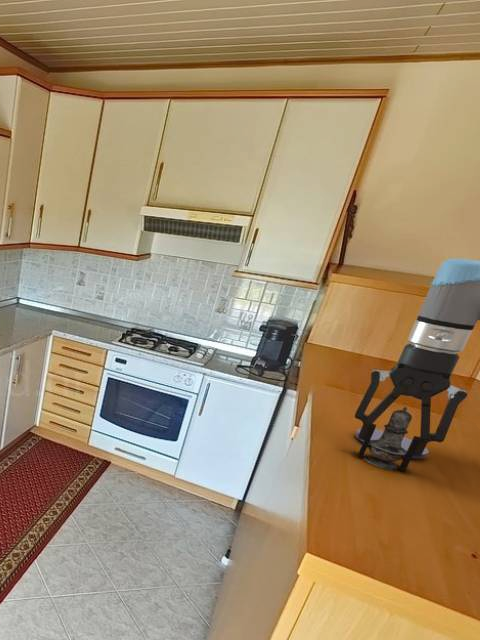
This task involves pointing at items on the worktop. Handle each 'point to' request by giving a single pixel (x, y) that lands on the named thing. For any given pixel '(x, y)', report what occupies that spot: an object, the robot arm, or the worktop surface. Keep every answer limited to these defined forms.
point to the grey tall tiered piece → (390, 441)
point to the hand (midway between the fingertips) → (381, 461)
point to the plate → (404, 443)
